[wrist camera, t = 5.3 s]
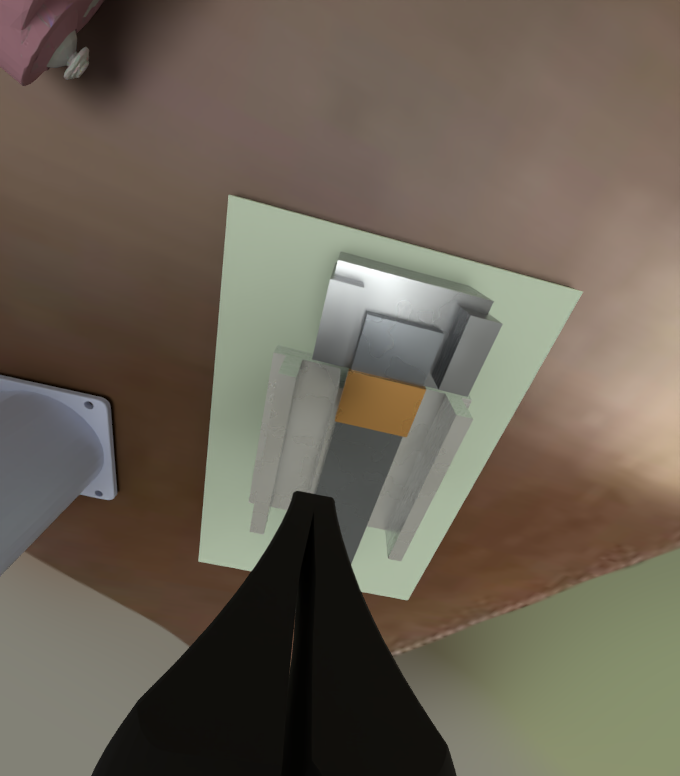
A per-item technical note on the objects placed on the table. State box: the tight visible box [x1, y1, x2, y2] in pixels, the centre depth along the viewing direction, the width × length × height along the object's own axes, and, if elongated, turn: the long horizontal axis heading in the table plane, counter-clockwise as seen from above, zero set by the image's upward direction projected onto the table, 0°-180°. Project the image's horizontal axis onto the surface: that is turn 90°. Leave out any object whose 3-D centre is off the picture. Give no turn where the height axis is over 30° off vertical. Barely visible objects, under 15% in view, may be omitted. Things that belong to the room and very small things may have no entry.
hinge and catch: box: [295, 252, 503, 611], centre depth 18 cm, size 6×20×4 cm, turn 166°
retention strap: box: [314, 311, 444, 564], centre depth 17 cm, size 3×16×1 cm, turn 166°
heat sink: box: [249, 345, 473, 561], centre depth 18 cm, size 10×10×3 cm
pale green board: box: [199, 195, 583, 600], centre depth 21 cm, size 16×24×1 cm, turn 166°
